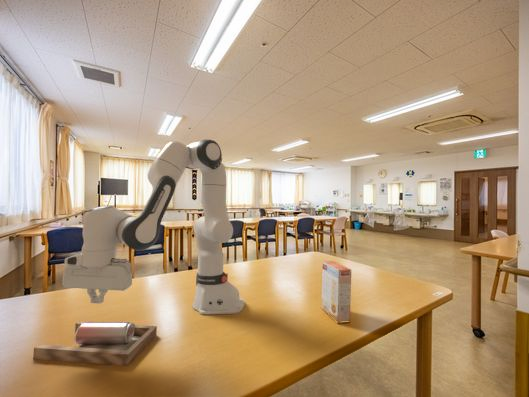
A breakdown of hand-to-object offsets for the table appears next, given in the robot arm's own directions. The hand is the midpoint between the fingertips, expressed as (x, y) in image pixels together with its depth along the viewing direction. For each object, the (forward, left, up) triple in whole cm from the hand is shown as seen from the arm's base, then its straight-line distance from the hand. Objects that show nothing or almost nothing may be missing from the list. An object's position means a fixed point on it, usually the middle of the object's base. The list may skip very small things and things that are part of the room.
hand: (97, 302), depth 73 cm
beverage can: (+5, 0, -10) cm, 11 cm away
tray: (-1, 0, -13) cm, 13 cm away
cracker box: (-80, -30, -13) cm, 87 cm away
